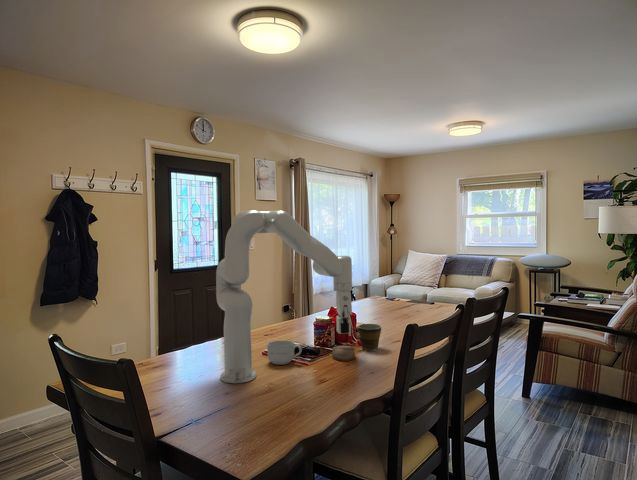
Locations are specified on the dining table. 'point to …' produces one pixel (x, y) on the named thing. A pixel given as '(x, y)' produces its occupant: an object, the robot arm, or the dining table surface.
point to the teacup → (282, 351)
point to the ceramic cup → (369, 336)
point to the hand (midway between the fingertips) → (343, 330)
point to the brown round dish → (343, 353)
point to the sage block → (338, 320)
